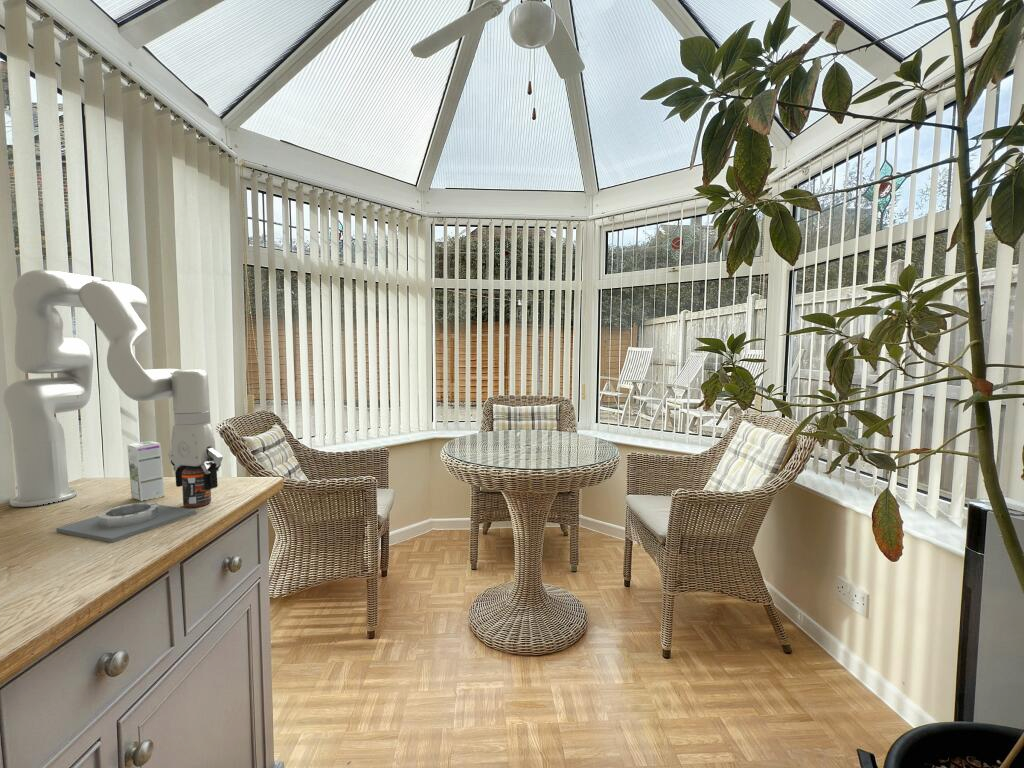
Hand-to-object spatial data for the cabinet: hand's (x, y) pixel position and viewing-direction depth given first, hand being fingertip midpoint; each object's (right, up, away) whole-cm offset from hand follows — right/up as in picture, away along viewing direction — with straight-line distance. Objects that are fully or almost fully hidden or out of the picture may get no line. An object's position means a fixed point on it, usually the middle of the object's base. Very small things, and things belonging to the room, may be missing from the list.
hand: (196, 486), depth 122 cm
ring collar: (-8, -5, -12) cm, 15 cm away
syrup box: (-17, -4, +6) cm, 19 cm away
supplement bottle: (0, -5, 0) cm, 5 cm away
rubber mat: (-8, -5, -12) cm, 15 cm away
